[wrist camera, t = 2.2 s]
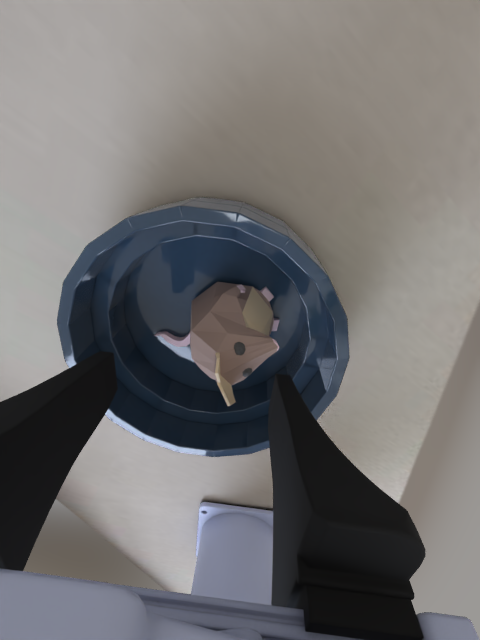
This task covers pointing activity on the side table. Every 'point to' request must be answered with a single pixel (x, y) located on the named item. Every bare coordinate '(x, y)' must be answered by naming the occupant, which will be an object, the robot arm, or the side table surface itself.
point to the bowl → (175, 317)
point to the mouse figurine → (229, 333)
